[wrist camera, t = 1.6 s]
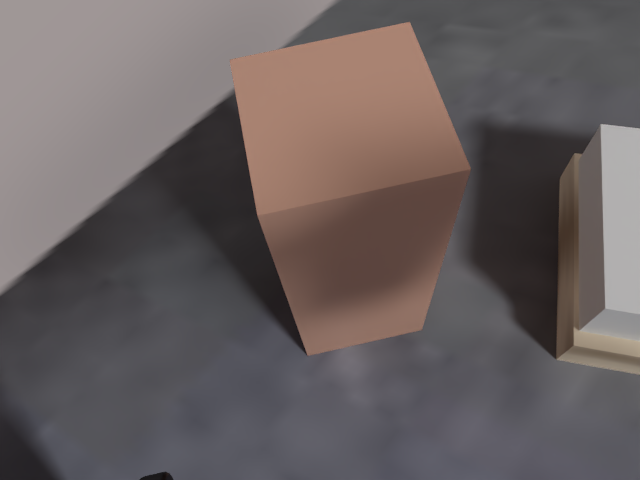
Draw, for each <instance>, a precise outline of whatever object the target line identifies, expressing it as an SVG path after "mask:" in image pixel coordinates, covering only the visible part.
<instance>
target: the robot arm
mask: <svg viewBox="0 0 640 480" xmlns="http://www.w3.org/2000/svg"><path fill="white" fill-rule="evenodd" d="M140 480H173V478H172V476H171V475H170V474H169V473H167V472H162V473H157V474H153V475H148V476H145V477H142V478H141V479H140Z"/></svg>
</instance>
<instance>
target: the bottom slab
mask: <svg viewBox="0 0 640 480" xmlns="http://www.w3.org/2000/svg"><path fill="white" fill-rule="evenodd" d="M581 156H582V154H578V153H574V155H573V156H572V158H571V160H570V162H569V163H568V165H567V167H566V168H565V170H564V172H563V174H562V175H561V177H560V190H559V243H558V296H557V349H556V360H561V361H567V362H572V363H578V364H583V365H589V366H594V367H600V368H605V369H611V370H616V371H622V372H627V373H633V374H638V375H640V341H634V340H628V339H623V338H617V337H611V336H605V335H599V334H594V333H588V332H582V331H579V159H580V157H581Z"/></svg>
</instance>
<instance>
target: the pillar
mask: <svg viewBox="0 0 640 480" xmlns="http://www.w3.org/2000/svg"><path fill="white" fill-rule="evenodd" d="M230 65H231V70H232V76H233V82H234V87H235V93H236V99H237V104H238V110H239V115H240V121H241V127H242V132H243V138H244V144H245V149H246V155H247V160H248V166H249V172H250V177H251V183H252V188H253V194H254V200H255V205H256V211H257V216H258V219H259V222H260V225H261V227H262V230H263V233H264V236H265V238H266V241H267V244H268V247H269V250H270V252H271V255H272V258H273V261H274V263H275V266H276V269H277V272H278V275H279V277H280V280H281V283H282V286H283V289H284V291H285V294H286V297H287V300H288V302H289V305H290V308H291V311H292V314H293V316H294V319H295V322H296V325H297V327H298V330H299V333H300V336H301V339H302V341H303V344H304V347H305V350H306V353H307V355H308V356H309V355H314V354H318V353H323V352H327V351H331V350H336V349H340V348H345V347H349V346H353V345H358V344H362V343H367V342H371V341H375V340H380V339H384V338H389V337H393V336H397V335H402V334H406V333H411V332H415V331H420V330H422V328H423V324H424V321H425V318H426V314H427V311H428V308H429V305H430V301H431V298H432V295H433V292H434V288H435V285H436V282H437V279H438V275H439V272H440V269H441V265H442V262H443V259H444V256H445V252H446V249H447V246H448V243H449V239H450V236H451V233H452V230H453V226H454V223H455V220H456V216H457V213H458V210H459V207H460V203H461V200H462V197H463V194H464V190H465V187H466V184H467V181H468V177H469V174H470V171H471V168H470V166H469V163H468V161H467V158H466V156H465V154H464V151H463V149H462V146H461V144H460V142H459V139H458V137H457V134H456V132H455V130H454V127H453V125H452V122H451V120H450V118H449V115H448V113H447V110H446V108H445V106H444V103H443V101H442V98H441V96H440V94H439V91H438V89H437V86H436V84H435V82H434V79H433V77H432V74H431V72H430V70H429V67H428V65H427V62H426V60H425V58H424V55H423V53H422V50H421V48H420V46H419V43H418V41H417V38H416V36H415V34H414V31H413V29H412V26H411V24H410V22H407V23H402V24H397V25H393V26H388V27H383V28H378V29H374V30H369V31H364V32H359V33H354V34H350V35H345V36H340V37H335V38H331V39H326V40H321V41H316V42H312V43H307V44H302V45H297V46H292V47H288V48H283V49H278V50H273V51H269V52H264V53H259V54H254V55H250V56H245V57H240V58H235V59H231V60H230Z"/></svg>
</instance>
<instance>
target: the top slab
mask: <svg viewBox="0 0 640 480" xmlns="http://www.w3.org/2000/svg"><path fill="white" fill-rule="evenodd" d="M579 331H582V332H588V333H594V334H599V335H605V336H611V337H617V338H623V339H628V340H634V341H640V129H639V128H630V127H621V126H612V125H604V124H601V125H600V126H599V128H598V129H597V131H596V133H595V134H594V136H593V138H592V139H591V141H590V143H589V144H588V146H587V147H586V149H585V151H584V152H583V154H582V156H581V157H580V159H579Z"/></svg>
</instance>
